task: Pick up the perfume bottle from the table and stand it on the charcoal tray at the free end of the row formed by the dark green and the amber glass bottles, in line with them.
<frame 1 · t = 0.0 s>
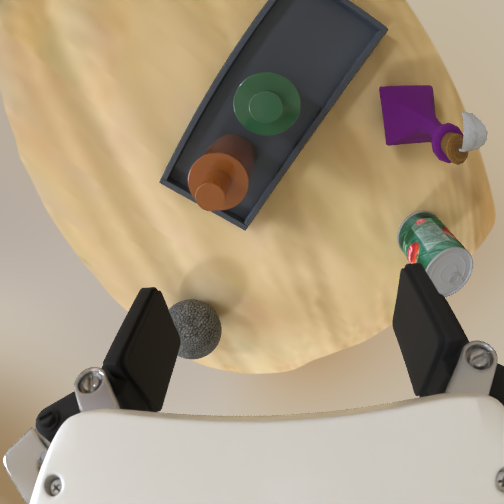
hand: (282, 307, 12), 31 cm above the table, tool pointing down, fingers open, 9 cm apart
perfume bottle: (400, 111, 34), on the table
amber bottle: (232, 155, 39), point 1 cm above the table, touching tray
canned tomato: (419, 233, 43), on the table
tray: (269, 97, 35), on the table
green bottle: (268, 98, 35), point 1 cm above the table, touching tray
decorative ball: (197, 309, 54), on the table
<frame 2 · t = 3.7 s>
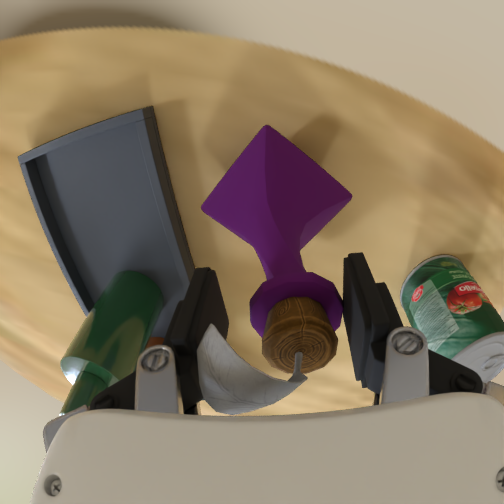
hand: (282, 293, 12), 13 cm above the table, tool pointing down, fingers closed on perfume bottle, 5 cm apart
perfume bottle: (276, 184, 23), on the table, touching gripper
canned tomato: (433, 285, 28), on the table
tray: (138, 291, 30), on the table
green bottle: (136, 294, 29), point 1 cm above the table, touching tray
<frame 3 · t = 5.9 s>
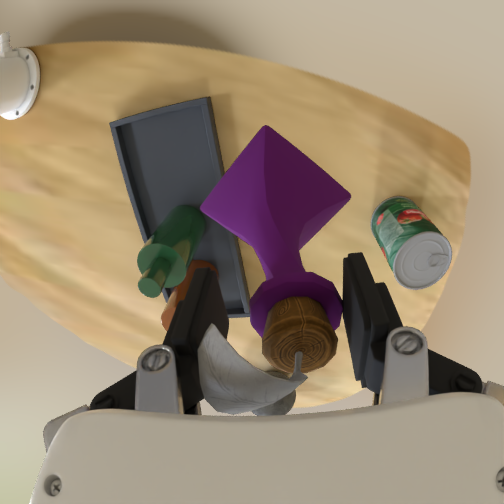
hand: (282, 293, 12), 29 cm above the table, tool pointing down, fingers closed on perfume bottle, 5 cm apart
perfume bottle: (275, 184, 23), point 16 cm above the table, touching gripper
amber bottle: (200, 275, 48), point 1 cm above the table, touching tray
canned tomato: (395, 220, 41), on the table
tray: (187, 222, 44), on the table
green bottle: (186, 224, 44), point 1 cm above the table, touching tray
decorative ball: (271, 375, 61), on the table
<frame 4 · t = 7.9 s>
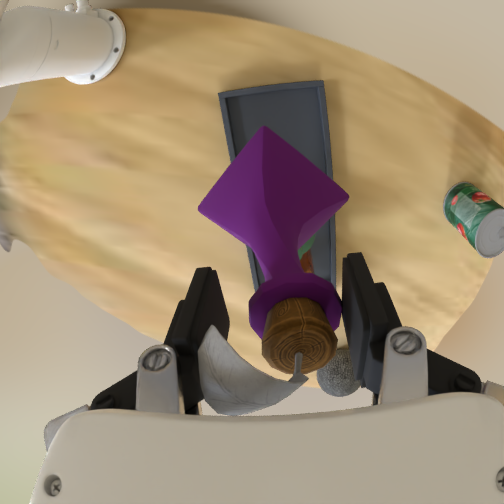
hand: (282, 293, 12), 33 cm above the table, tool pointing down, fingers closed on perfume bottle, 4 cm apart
perfume bottle: (273, 184, 23), point 20 cm above the table, touching gripper
canned tomato: (461, 203, 43), on the table
tray: (286, 198, 45), on the table
decorative ball: (338, 354, 62), on the table
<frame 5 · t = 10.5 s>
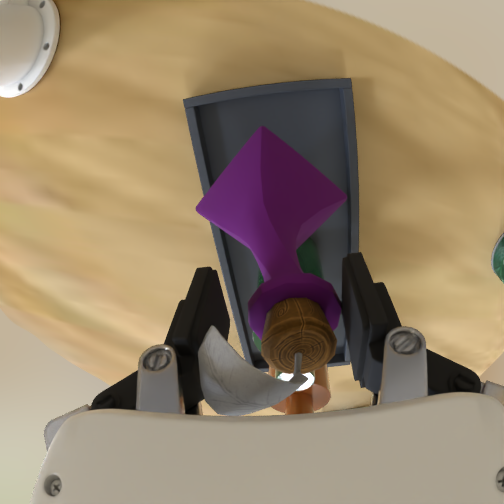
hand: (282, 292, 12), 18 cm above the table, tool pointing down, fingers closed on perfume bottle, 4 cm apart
perfume bottle: (271, 184, 23), point 5 cm above the table, touching gripper
amber bottle: (295, 320, 36), point 1 cm above the table, touching tray
tray: (289, 253, 32), on the table
green bottle: (289, 256, 31), point 1 cm above the table, touching tray
when the fingers open (13 cm above the table, at t = 12.3 s): perfume bottle stays where it is, resting on tray.
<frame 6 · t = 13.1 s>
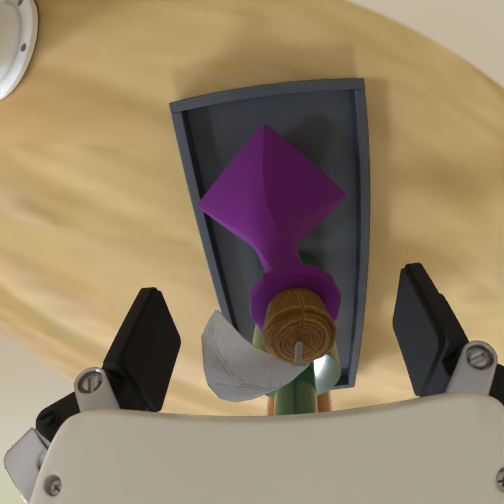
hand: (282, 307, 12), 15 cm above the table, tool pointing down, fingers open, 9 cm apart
perfume bottle: (272, 183, 24), resting on tray
amber bottle: (297, 344, 33), point 1 cm above the table, touching tray
tray: (290, 274, 29), on the table
green bottle: (291, 278, 28), point 1 cm above the table, touching tray
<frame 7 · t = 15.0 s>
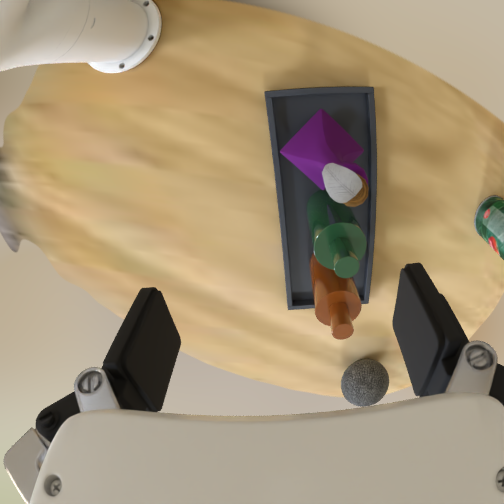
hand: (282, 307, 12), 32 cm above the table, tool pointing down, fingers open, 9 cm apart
perfume bottle: (319, 144, 38), resting on tray
amber bottle: (328, 262, 47), point 1 cm above the table, touching tray
canned tomato: (490, 216, 40), on the table
tray: (326, 206, 43), on the table
green bottle: (327, 208, 42), point 1 cm above the table, touching tray
decorative ball: (361, 363, 60), on the table
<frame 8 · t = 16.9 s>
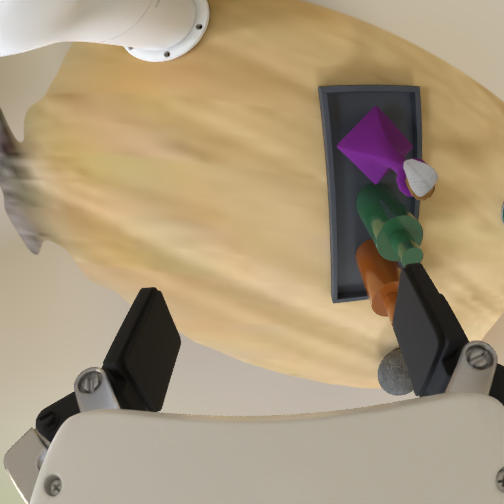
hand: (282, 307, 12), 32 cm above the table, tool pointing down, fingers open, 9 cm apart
perfume bottle: (368, 140, 37), resting on tray
amber bottle: (372, 255, 46), point 1 cm above the table, touching tray
tray: (373, 200, 42), on the table
green bottle: (374, 202, 42), point 1 cm above the table, touching tray
decorative ball: (394, 354, 60), on the table
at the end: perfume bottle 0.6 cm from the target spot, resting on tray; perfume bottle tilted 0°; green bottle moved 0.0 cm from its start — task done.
